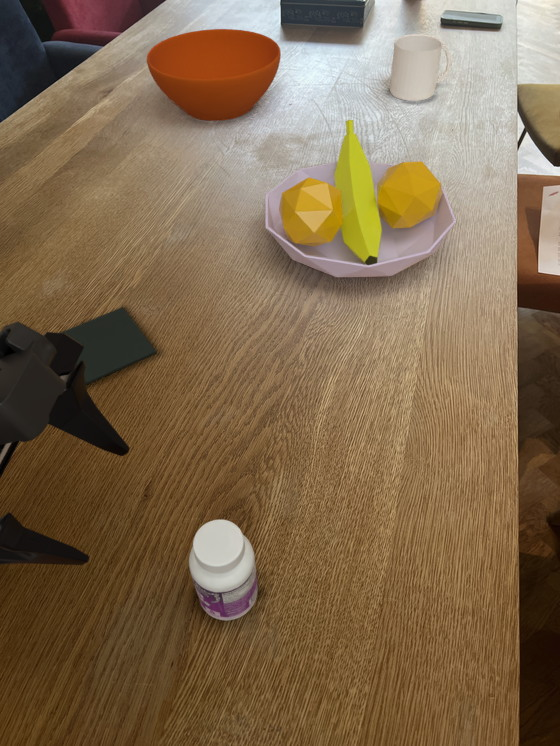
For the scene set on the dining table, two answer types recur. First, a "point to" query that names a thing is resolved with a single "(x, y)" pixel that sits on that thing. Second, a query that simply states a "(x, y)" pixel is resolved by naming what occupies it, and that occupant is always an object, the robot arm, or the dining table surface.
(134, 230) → the dining table surface
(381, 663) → the dining table surface
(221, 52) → the bowl
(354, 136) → the fruit bowl
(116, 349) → the mat
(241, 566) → the pill bottle
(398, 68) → the mug
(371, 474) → the dining table surface
